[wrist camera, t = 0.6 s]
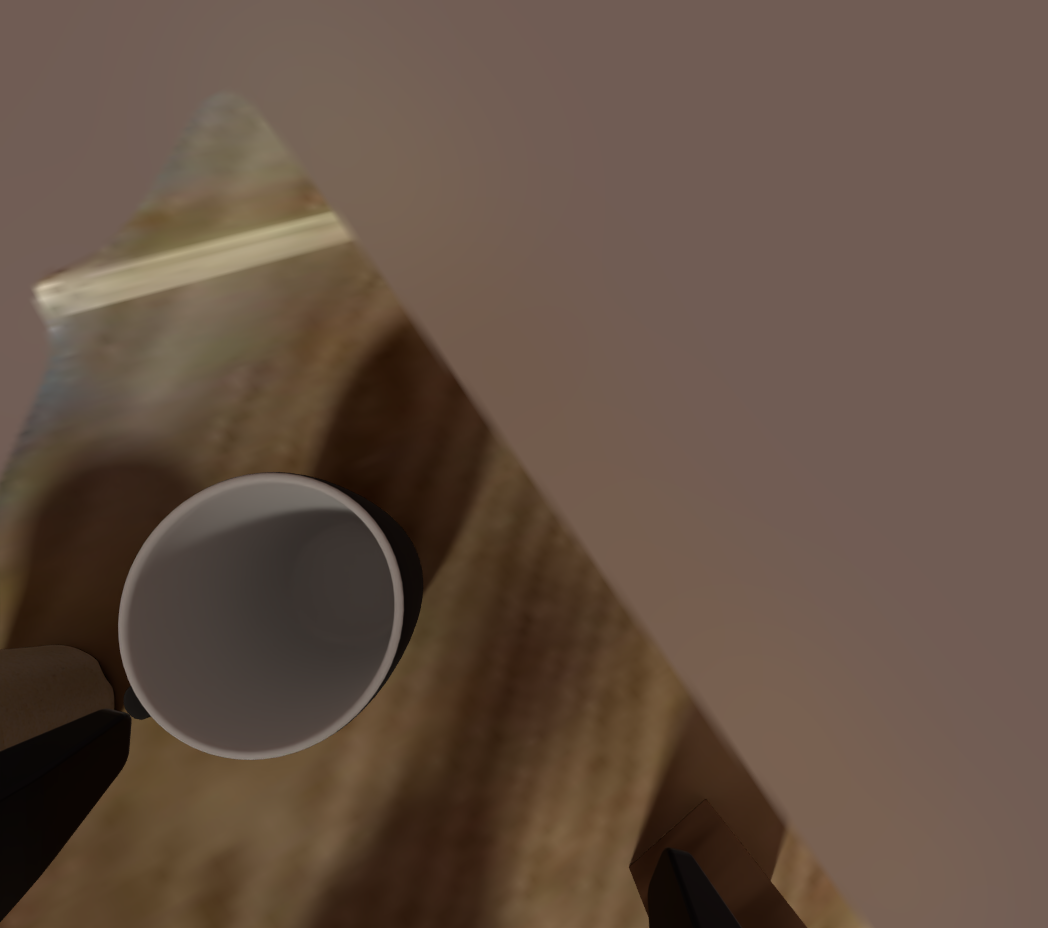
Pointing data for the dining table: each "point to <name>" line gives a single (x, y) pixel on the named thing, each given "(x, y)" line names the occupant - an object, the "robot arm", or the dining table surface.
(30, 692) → the flower pot
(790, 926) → the brown tall rectangular block
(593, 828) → the dining table surface
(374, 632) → the mug
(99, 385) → the dining table surface
